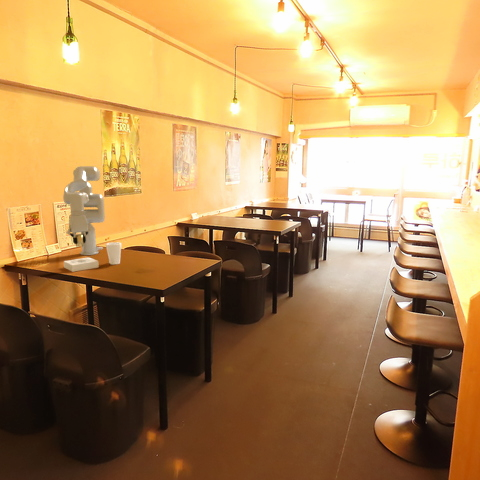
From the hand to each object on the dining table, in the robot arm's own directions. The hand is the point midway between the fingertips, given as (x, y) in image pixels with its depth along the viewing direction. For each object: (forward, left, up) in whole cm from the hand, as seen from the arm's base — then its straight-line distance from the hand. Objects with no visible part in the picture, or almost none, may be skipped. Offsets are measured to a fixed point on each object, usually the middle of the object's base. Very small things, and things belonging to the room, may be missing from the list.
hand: (79, 243), depth 248 cm
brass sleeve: (0, 0, -2) cm, 2 cm away
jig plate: (0, 0, -15) cm, 15 cm away
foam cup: (-20, +4, -16) cm, 26 cm away
